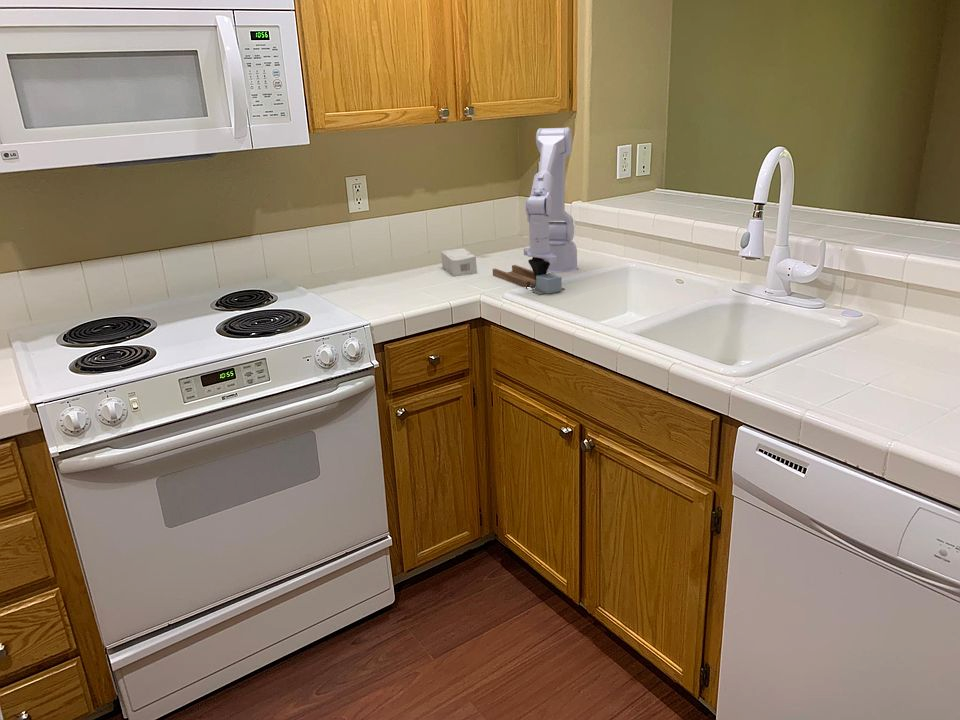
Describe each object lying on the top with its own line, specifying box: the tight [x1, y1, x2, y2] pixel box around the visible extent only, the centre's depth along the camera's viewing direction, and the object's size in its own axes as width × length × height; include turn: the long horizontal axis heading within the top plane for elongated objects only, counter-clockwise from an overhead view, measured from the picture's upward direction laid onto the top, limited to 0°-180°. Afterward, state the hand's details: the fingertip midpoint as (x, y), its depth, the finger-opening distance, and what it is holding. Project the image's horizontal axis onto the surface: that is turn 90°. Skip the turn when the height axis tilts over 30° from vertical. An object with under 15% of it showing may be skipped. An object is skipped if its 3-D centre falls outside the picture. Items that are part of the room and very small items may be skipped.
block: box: [536, 272, 563, 294], centre depth 211 cm, size 5×6×4 cm
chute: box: [492, 264, 566, 296], centre depth 221 cm, size 9×27×2 cm, turn 29°
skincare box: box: [440, 247, 478, 277], centre depth 239 cm, size 8×6×15 cm
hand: (540, 282), depth 215 cm, fingers closed
